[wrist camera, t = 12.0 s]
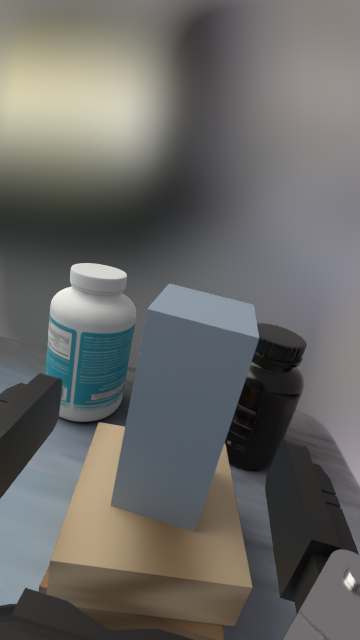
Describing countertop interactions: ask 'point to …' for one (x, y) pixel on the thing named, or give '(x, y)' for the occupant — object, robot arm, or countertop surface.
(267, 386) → the supplement bottle
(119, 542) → the tower top
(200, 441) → the pillar
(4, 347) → the countertop surface
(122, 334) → the pill bottle
